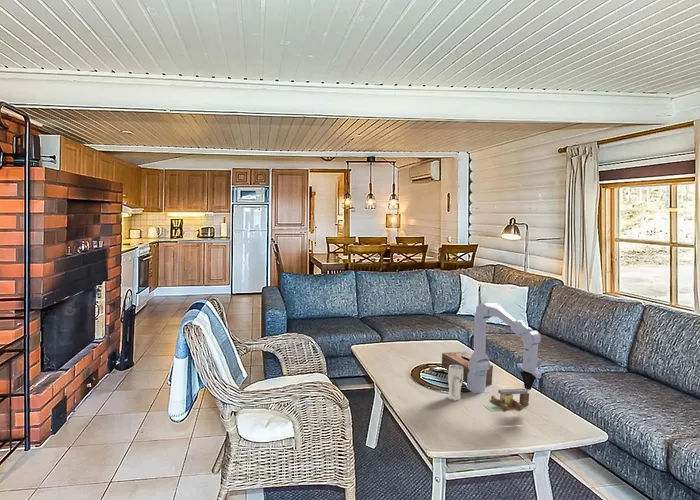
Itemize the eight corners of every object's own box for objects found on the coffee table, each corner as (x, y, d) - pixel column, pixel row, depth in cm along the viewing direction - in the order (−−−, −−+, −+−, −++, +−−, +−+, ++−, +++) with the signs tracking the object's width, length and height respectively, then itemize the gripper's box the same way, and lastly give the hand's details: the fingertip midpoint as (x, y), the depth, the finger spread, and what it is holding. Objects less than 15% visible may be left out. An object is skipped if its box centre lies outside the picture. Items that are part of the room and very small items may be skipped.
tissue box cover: (491, 385, 244) (492, 365, 244) (466, 387, 240) (468, 367, 239) (464, 369, 269) (465, 351, 268) (441, 370, 264) (442, 352, 263)
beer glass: (451, 401, 219) (452, 369, 218) (444, 396, 225) (445, 364, 224) (464, 400, 220) (466, 368, 219) (457, 395, 227) (459, 364, 226)
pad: (483, 406, 214) (483, 405, 214) (496, 406, 216) (496, 404, 216) (490, 412, 208) (490, 411, 208) (503, 411, 210) (503, 410, 210)
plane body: (490, 401, 222) (490, 388, 221) (519, 399, 225) (519, 387, 225) (504, 411, 210) (505, 398, 210) (534, 409, 213) (535, 397, 213)
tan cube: (499, 403, 218) (500, 392, 218) (507, 402, 219) (508, 392, 219) (504, 406, 214) (505, 395, 214) (512, 406, 215) (513, 395, 215)
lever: (498, 392, 217) (498, 389, 217) (525, 391, 220) (525, 388, 220) (501, 394, 214) (501, 392, 214) (529, 393, 217) (529, 390, 217)
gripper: (548, 363, 204) (546, 394, 205) (528, 353, 218) (526, 382, 219) (533, 363, 202) (531, 395, 203) (514, 353, 217) (512, 383, 218)
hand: (527, 388), depth 211 cm, fingers closed
